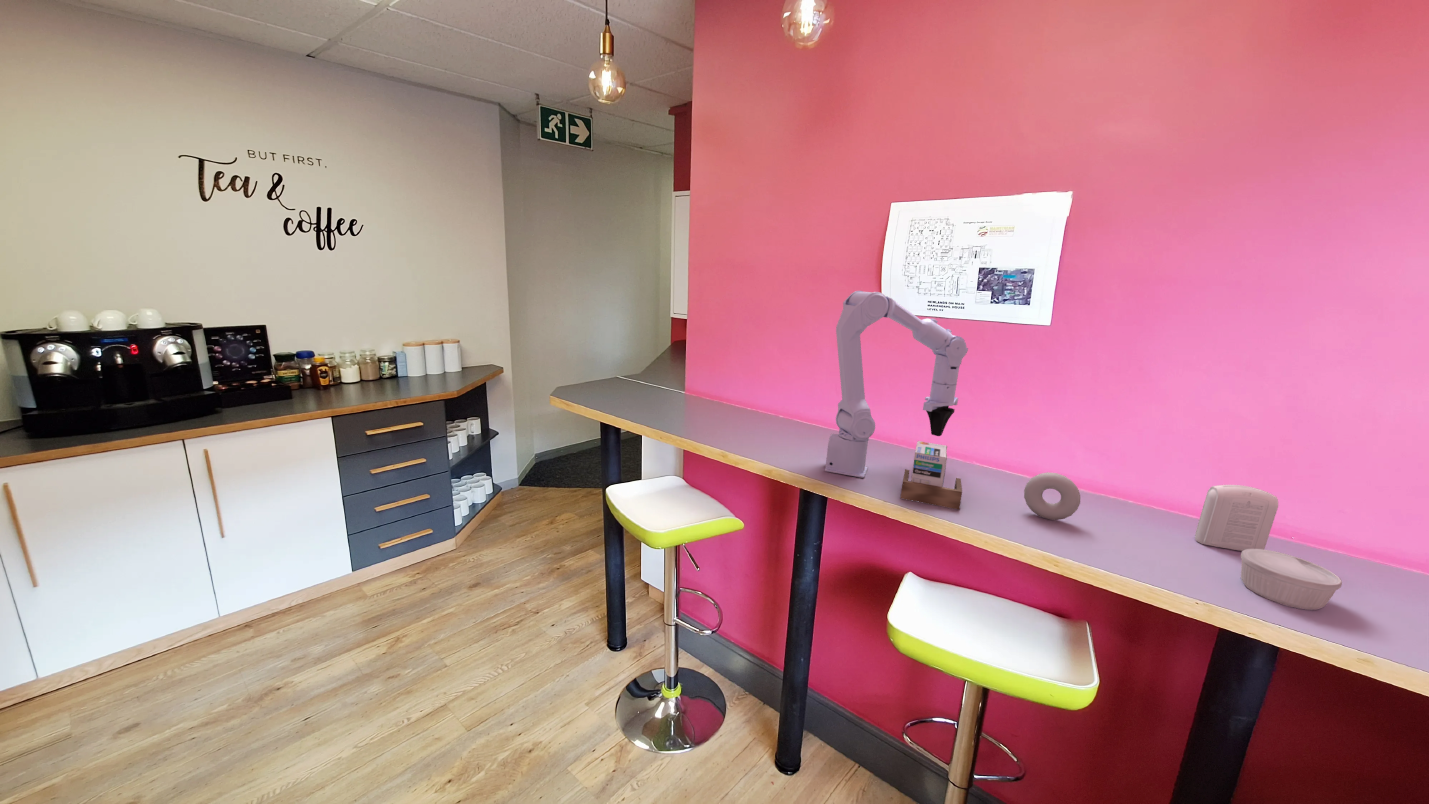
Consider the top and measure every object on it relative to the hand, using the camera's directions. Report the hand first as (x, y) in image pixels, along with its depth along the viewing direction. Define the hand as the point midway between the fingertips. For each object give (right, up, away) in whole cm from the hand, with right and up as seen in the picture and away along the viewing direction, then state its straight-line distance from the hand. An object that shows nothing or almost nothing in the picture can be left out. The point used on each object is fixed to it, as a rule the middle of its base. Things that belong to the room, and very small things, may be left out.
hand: (936, 435), depth 138 cm
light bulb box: (-9, -13, -15) cm, 21 cm away
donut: (+13, -16, -25) cm, 32 cm away
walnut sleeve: (-8, -13, -16) cm, 22 cm away
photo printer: (+43, -20, -34) cm, 58 cm away
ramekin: (+36, -23, -50) cm, 65 cm away
